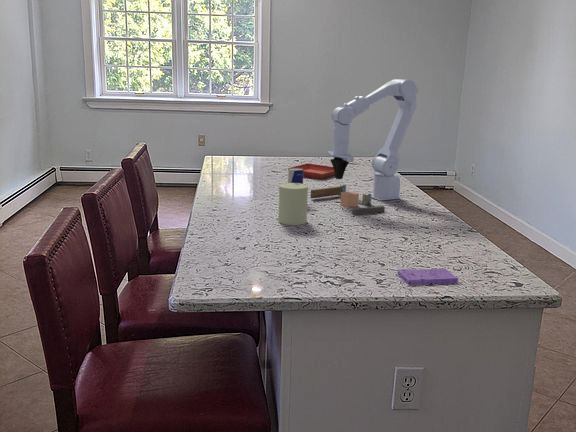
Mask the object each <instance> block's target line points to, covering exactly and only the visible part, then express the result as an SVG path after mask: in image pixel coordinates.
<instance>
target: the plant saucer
mask: <svg viewBox="0 0 576 432" xmlns="http://www.w3.org/2000/svg"><path fill="white" fill-rule="evenodd" d="M290 168H301V169H303V178H310V179H311V178H312V179H317V180H322V179H325V178H329V177H332V176H335V172H334V168H333V166H329V165H323V164H315V163H310V162H309V163H308V162H307V163H303V164H299V165H295V166H292V167H287V170H288V171H289V169H290Z"/></svg>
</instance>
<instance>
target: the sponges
mask: <svg viewBox="0 0 576 432" xmlns="http://www.w3.org/2000/svg"><path fill="white" fill-rule="evenodd" d="M397 276H398V277H399V278H400V277H401V278H402V279H403V280H402V281H404V283H406V285H409V284H413V285H431V283H433V284H434V283H436V284H437V283H439V284H456V283H457V282H459V277H457V276H456V275H455V274H453V273H451V272H450V271H449V270H448V269H446V268H422V269H421V268H419V269H417V268H416V269H415V268H412V269H411V268H410V269H409V268H408V269H406V268H404V269H399V268H398V269H397ZM401 278H400V279H401ZM436 284H435V285H436ZM437 285H438V284H437ZM409 286H410V285H409Z"/></svg>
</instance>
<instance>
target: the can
mask: <svg viewBox="0 0 576 432" xmlns="http://www.w3.org/2000/svg"><path fill="white" fill-rule="evenodd" d="M308 191H309V185H307V184H304V183H303V184H301V183H288V182H285V183H281V184H279V185H278V192H279V193H278V218H277V222H278V223H279V224H282V225H287V226H301V225H305V224H307V222H308V216H307V215H308V196H309V195H308Z"/></svg>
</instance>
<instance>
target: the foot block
mask: <svg viewBox="0 0 576 432" xmlns="http://www.w3.org/2000/svg"><path fill="white" fill-rule="evenodd" d="M359 195H360V194H359V193H358V192H355V191H349V190H348V191H346V192H341V196H340V205H342V206H343V207H346V208H351V207H352V208H353V207H359V203H358V199H359V198H360V197H359Z"/></svg>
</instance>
